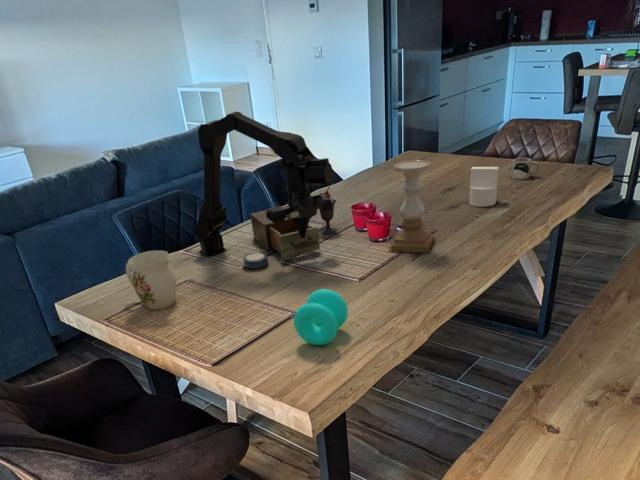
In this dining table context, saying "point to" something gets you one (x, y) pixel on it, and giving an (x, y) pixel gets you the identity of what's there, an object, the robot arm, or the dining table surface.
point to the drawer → (292, 239)
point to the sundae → (327, 214)
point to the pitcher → (153, 278)
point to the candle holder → (412, 211)
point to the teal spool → (321, 317)
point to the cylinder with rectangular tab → (483, 186)
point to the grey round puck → (255, 260)
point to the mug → (523, 168)
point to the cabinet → (263, 227)
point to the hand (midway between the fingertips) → (302, 237)
